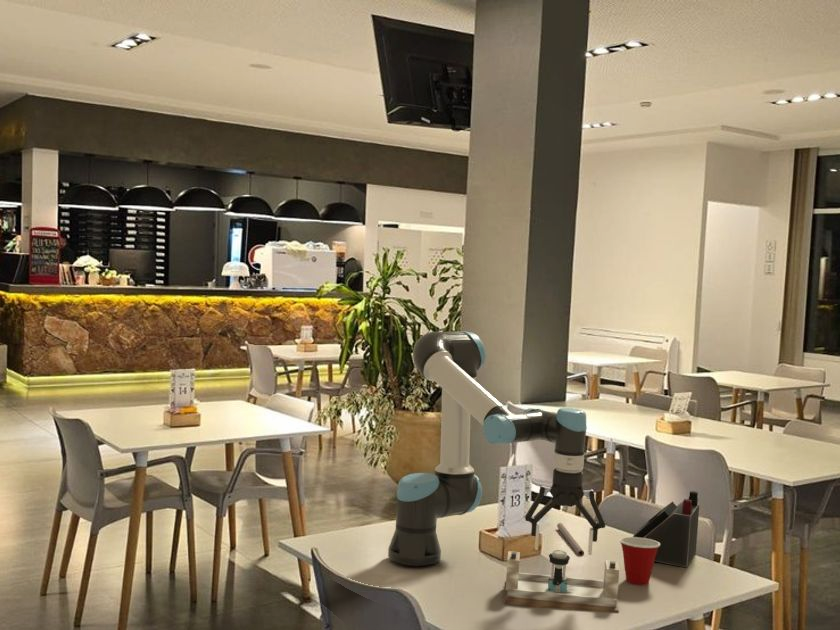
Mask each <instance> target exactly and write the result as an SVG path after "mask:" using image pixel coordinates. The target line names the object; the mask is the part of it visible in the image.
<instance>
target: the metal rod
mask: <svg viewBox="0 0 840 630" xmlns="http://www.w3.org/2000/svg"><path fill="white" fill-rule="evenodd" d="M556 526H557V529H558V530H559V531H560V533H561V534H562V535H563V537H564V538H565V539H566V541H567V542H568V544H569V545H570V547H571V548H572V549H573V550H574V551H575V553H576V554H577V556H584V555H585V551H584V550H583V548H582V547H581V546H580V544H579V543H578V542H577V541H576V540H575V538H574V536H573V535H572V534H571V533H570V532H569V530H567V528H566V527H565V526H564V525H563V523H562V522H559V523H557V524H556Z"/></svg>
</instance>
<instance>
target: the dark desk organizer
mask: <svg viewBox="0 0 840 630" xmlns="http://www.w3.org/2000/svg"><path fill="white" fill-rule="evenodd" d="M698 493H699V492H697V491H693V490H692V491H691V490H690V491H689V496H688V498H687V499H686V498H684V499H683V501H681V502H680V503H679V504H677V505H676V503H675V502H674V501H671V502H669V503H668V504H667V505H666V506H664V507H663V508H662V509H661V510H659V511H658V512H657V513H656V514H655V515H654V516H652V517H651V518H649V520H647V522H645V524H643V525H642V526H640V527H639V529H638V530H637V531H636V532H635V534H633V536H632V537H639V538H646V539H651V540H655V541H657V542H659V543H660V546H659V548H658V550H657V553H656V556H655V560H654V562H658V563H663V564H667V565H674V566H678V567H685V568H688V567H689V565H690V563H691V561H692V560H693V558H694V556H695V554H696V553H697V542H698V528H699V518H700V517H699V516H700V503H698V501H699V498H698V495H699V494H698Z"/></svg>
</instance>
